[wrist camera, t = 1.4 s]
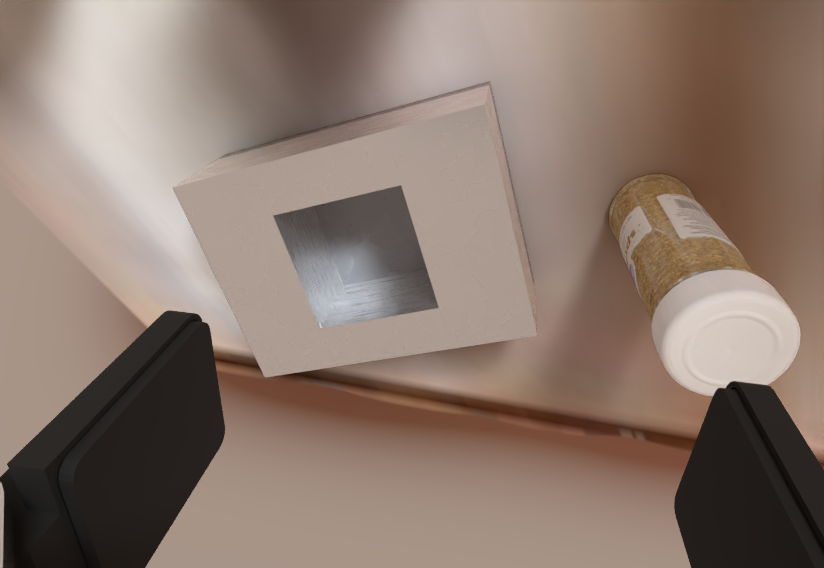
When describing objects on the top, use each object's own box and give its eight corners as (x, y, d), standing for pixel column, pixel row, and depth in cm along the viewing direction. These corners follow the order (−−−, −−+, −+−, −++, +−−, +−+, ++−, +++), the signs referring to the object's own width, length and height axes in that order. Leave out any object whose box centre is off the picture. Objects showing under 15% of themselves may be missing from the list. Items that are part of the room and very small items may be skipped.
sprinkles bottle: (590, 207, 32) (635, 341, 20) (664, 154, 30) (760, 268, 18) (638, 263, 33) (707, 421, 21) (712, 216, 31) (832, 361, 19)
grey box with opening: (489, 81, 30) (484, 103, 24) (533, 281, 35) (537, 335, 29) (224, 154, 34) (172, 187, 29) (298, 323, 39) (265, 377, 34)
